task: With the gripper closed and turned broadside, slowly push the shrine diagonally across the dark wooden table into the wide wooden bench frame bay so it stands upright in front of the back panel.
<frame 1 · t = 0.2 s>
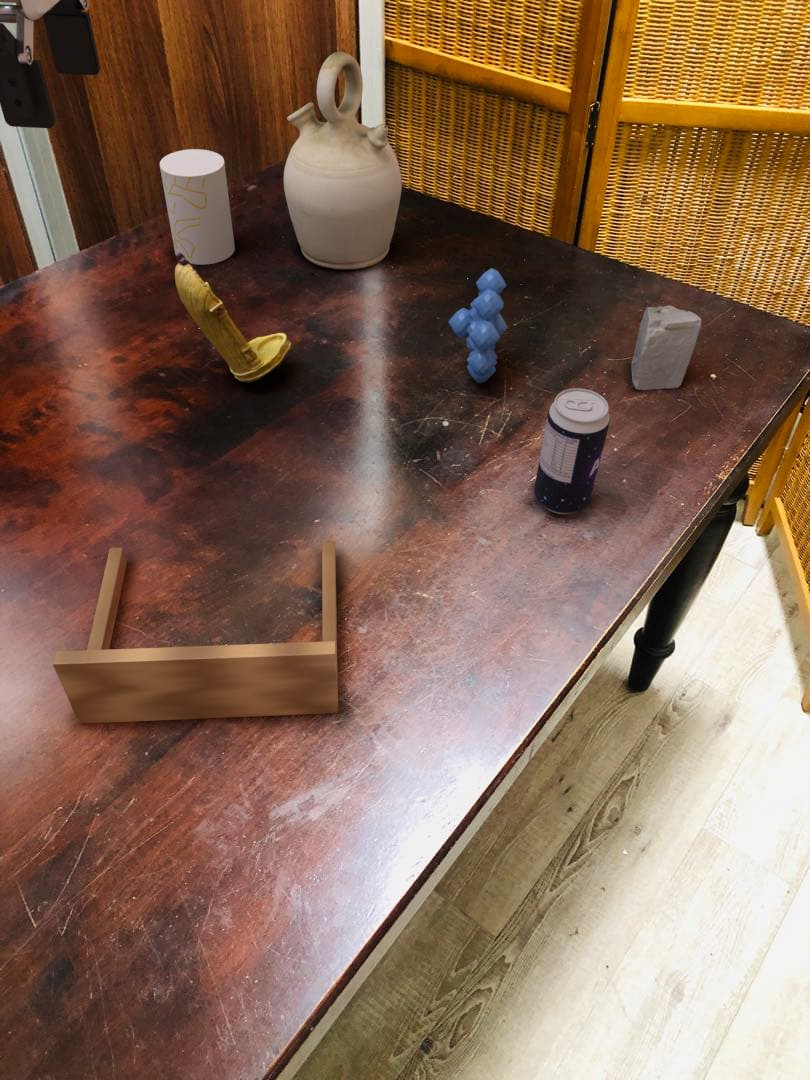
hand: (56, 97, 61), 37 cm above the table, tool pointing down, fingers open, 9 cm apart
mineral specimen: (651, 374, 104), on the table
beverage can: (560, 501, 89), on the table
grapes: (473, 369, 104), on the table
jug: (344, 250, 123), on the table
white upright cylinder: (205, 250, 121), on the table
shrine: (244, 374, 102), on the table
wooden bench frame: (219, 627, 76), on the table
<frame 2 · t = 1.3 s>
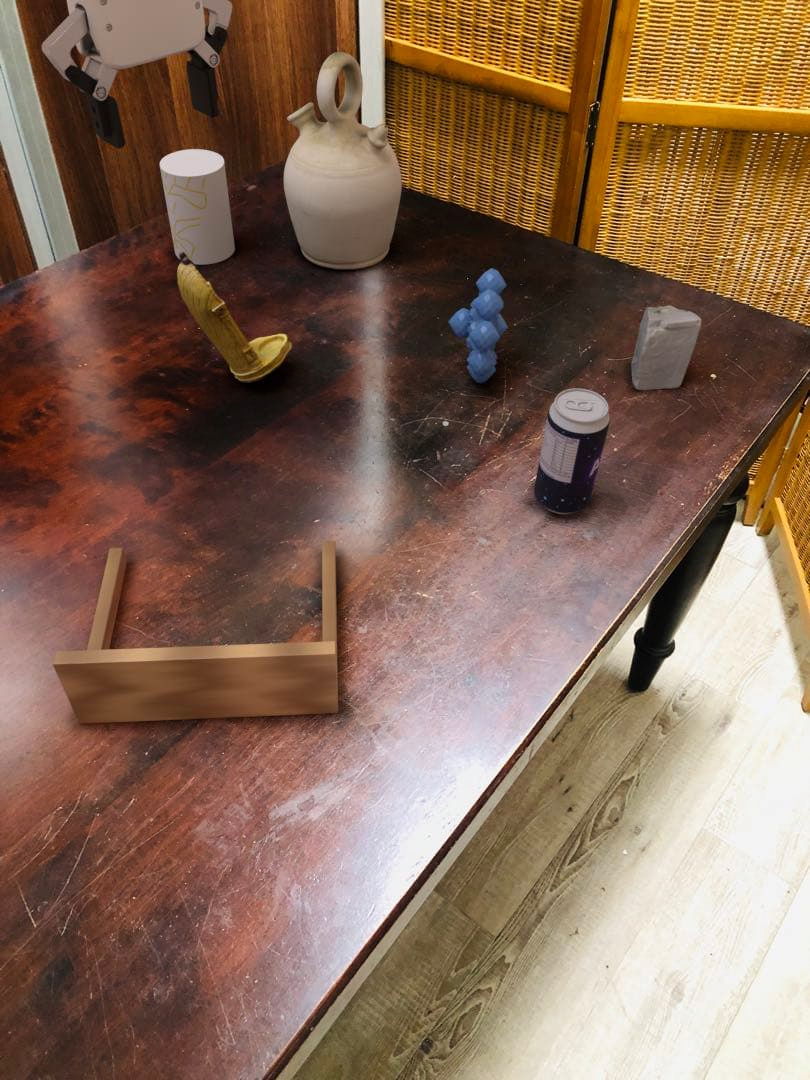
hand: (160, 127, 77), 29 cm above the table, tool pointing down, fingers open, 9 cm apart
nothing on the table moved.
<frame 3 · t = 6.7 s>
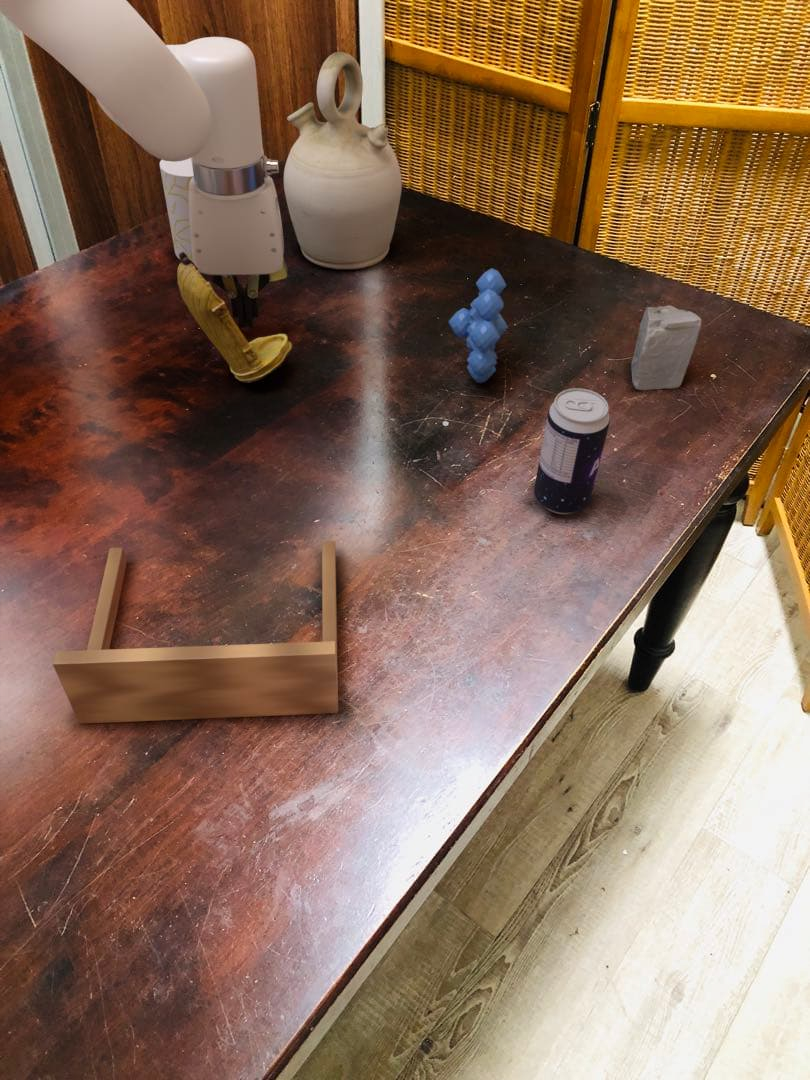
hand: (246, 321, 107), 1 cm above the table, tool pointing down, fingers closed
nothing on the table moved.
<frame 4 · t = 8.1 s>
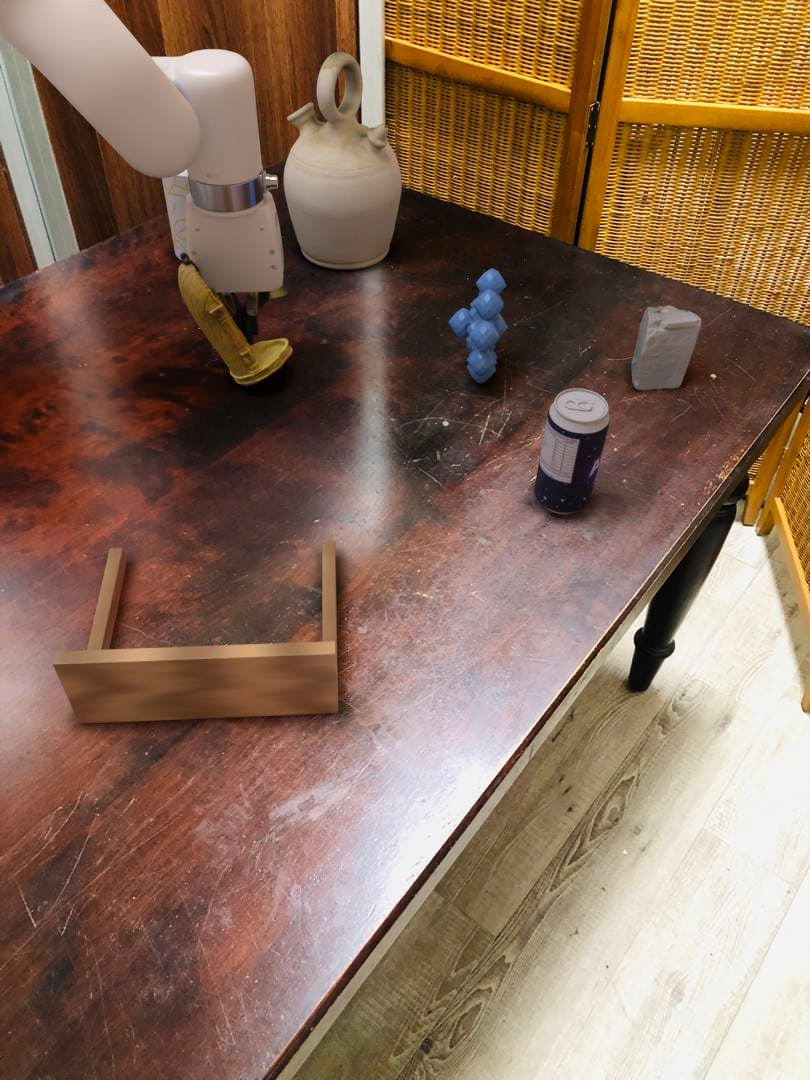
hand: (246, 339, 104), 2 cm above the table, tool pointing down, fingers closed
shrine: (244, 377, 102), on the table, touching gripper
everything else where it was.
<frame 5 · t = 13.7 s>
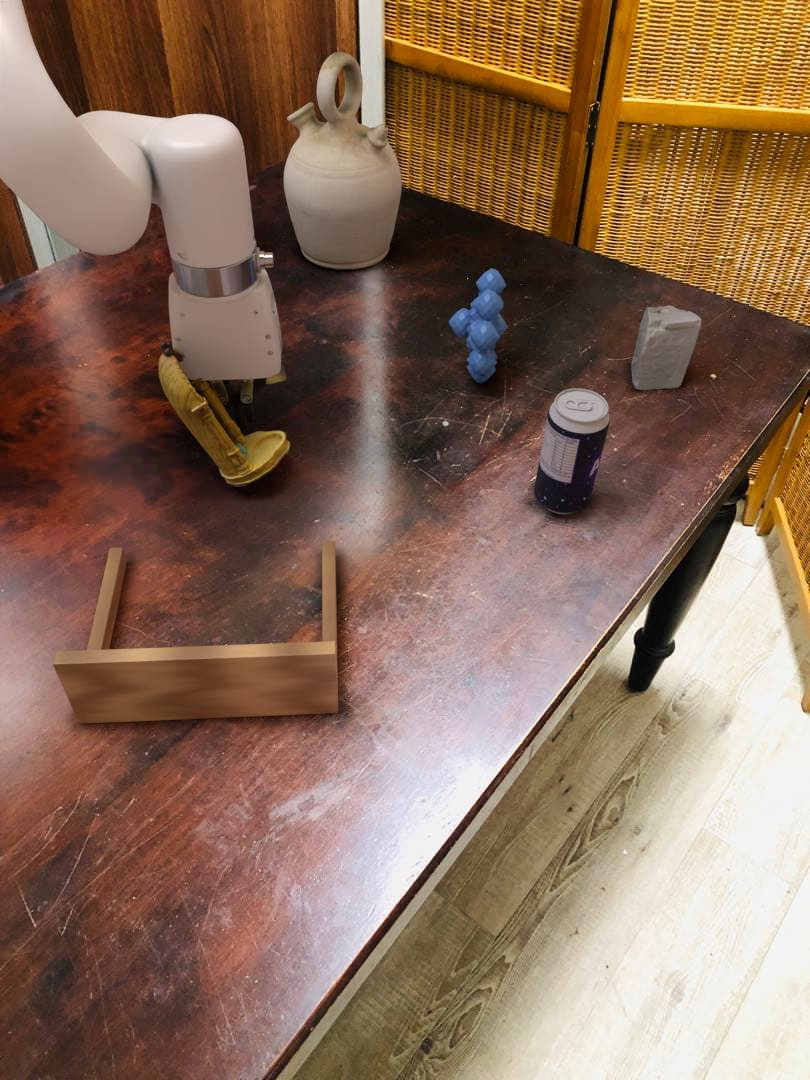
hand: (240, 426, 92), 2 cm above the table, tool pointing down, fingers closed
shrine: (237, 472, 90), on the table, touching gripper
everything else where it was.
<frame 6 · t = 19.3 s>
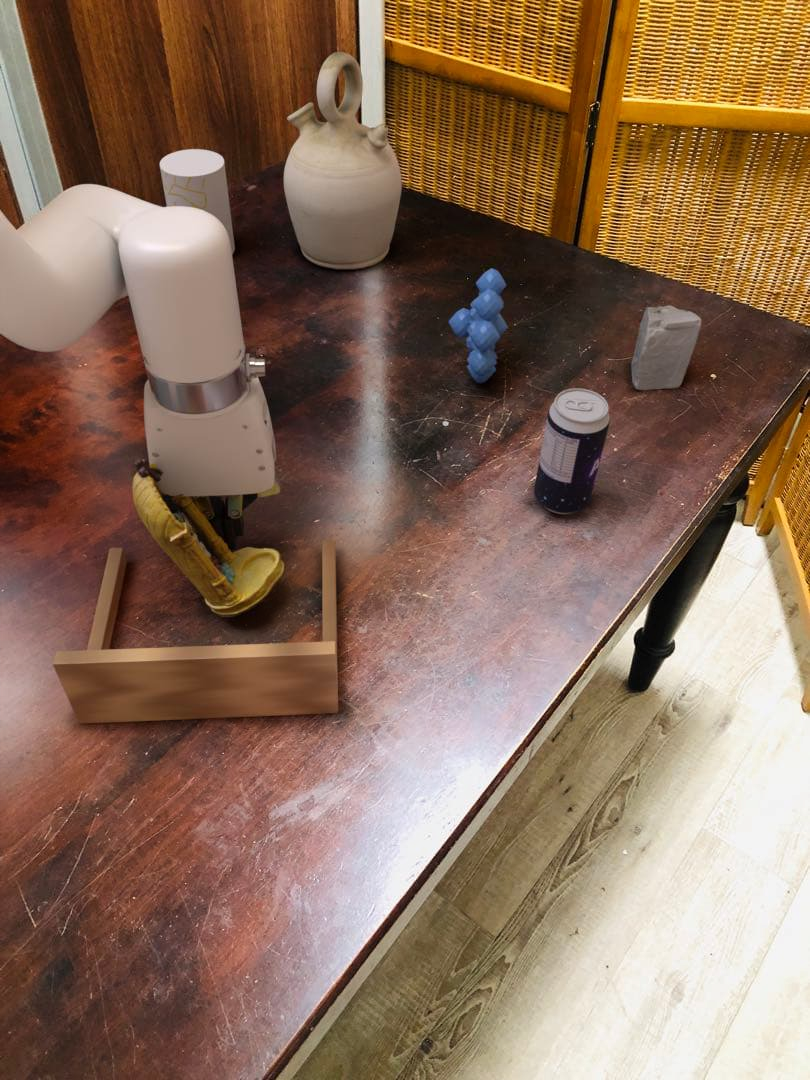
hand: (228, 539, 81), 2 cm above the table, tool pointing down, fingers closed
shrine: (223, 594, 79), on the table, touching gripper
everything else where it was.
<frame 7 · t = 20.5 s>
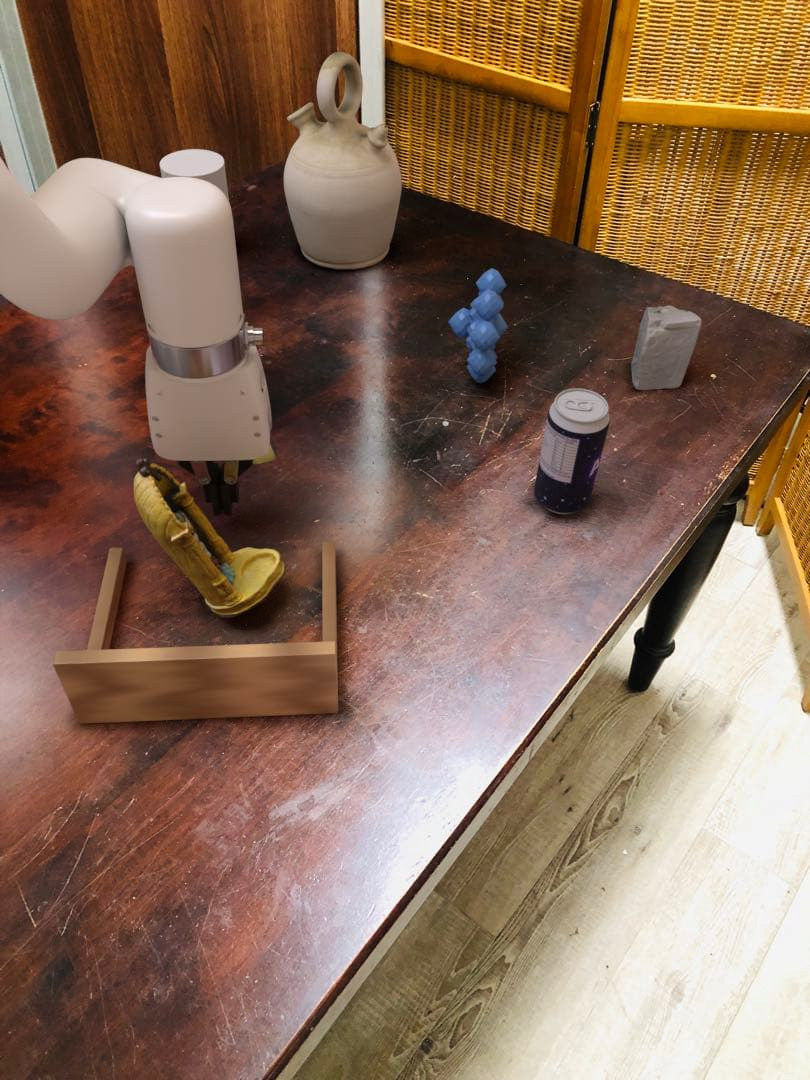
hand: (224, 505, 84), 2 cm above the table, tool pointing down, fingers closed
shrine: (223, 594, 79), on the table
everything else where it was.
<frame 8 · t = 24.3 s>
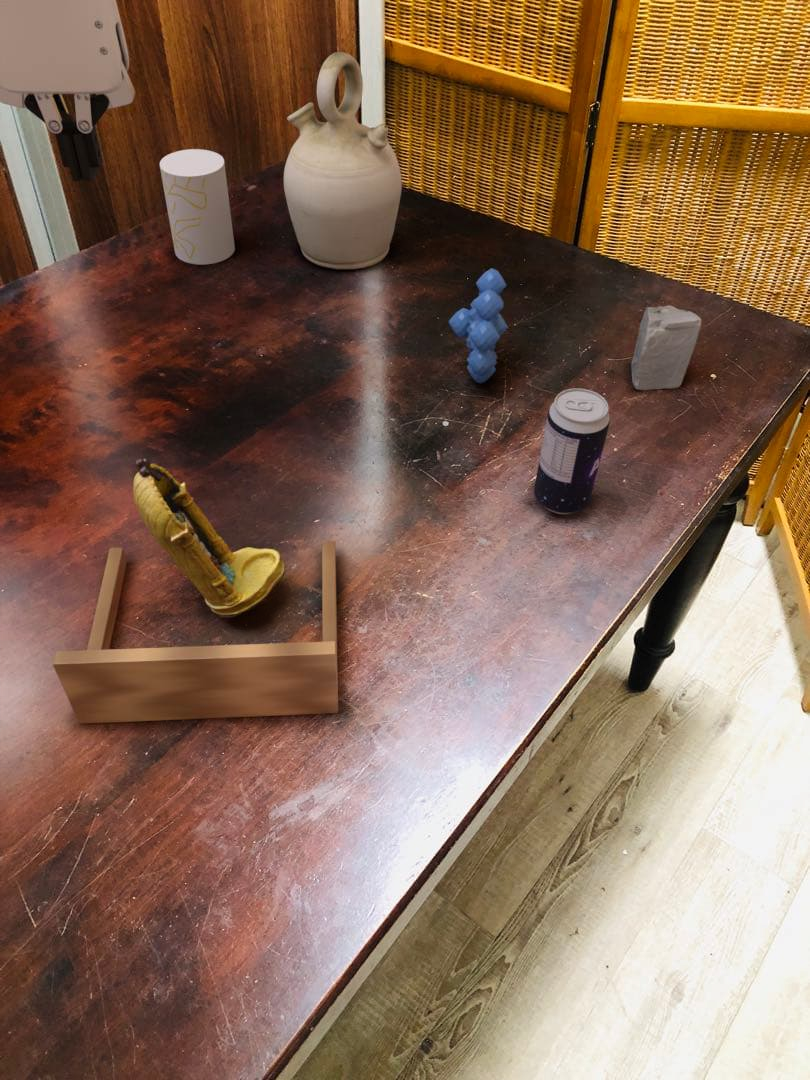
hand: (85, 174, 76), 27 cm above the table, tool pointing down, fingers closed
nothing on the table moved.
at the end: shrine inside the target area on the wooden bench frame (3.8 cm from its centre), point 0.0 cm above the wooden bench frame's base; shrine tilted 0° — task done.
